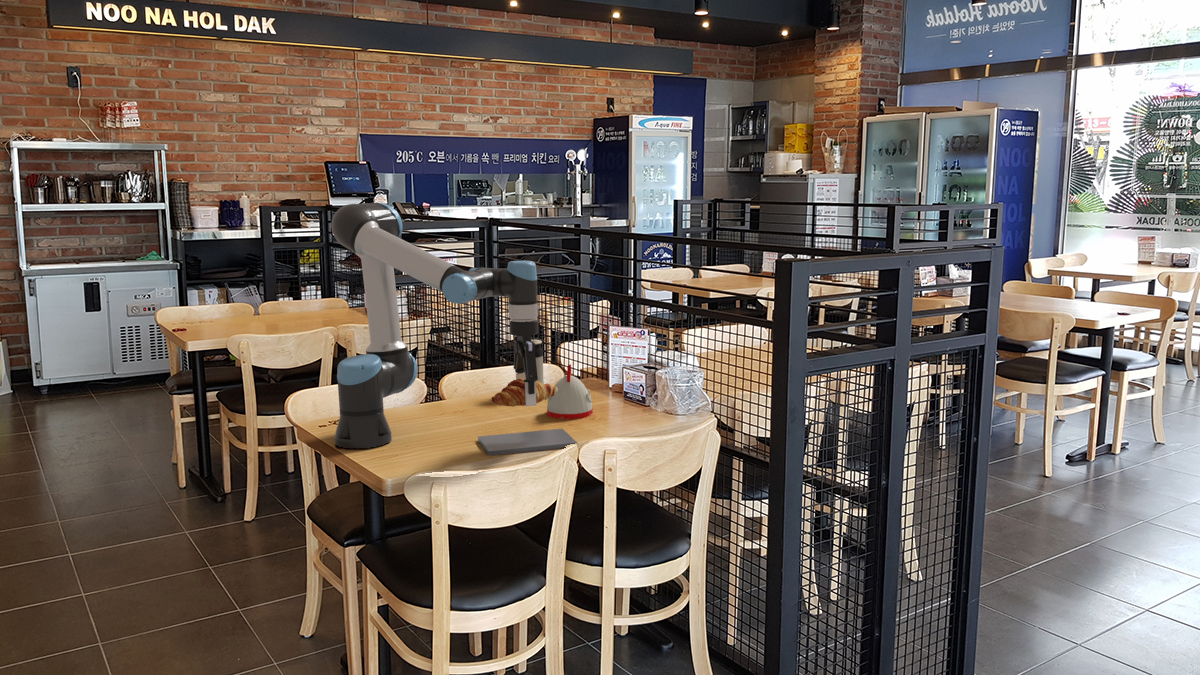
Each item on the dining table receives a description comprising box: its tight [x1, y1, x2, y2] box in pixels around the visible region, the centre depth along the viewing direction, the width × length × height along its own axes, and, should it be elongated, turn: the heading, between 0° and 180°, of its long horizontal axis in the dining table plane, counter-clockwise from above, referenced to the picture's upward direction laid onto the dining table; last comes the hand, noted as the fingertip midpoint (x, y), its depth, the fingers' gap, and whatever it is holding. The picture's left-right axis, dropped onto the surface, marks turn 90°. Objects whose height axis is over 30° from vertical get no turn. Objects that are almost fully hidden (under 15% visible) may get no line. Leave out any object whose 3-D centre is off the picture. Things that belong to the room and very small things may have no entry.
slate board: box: [477, 428, 578, 457], centre depth 247 cm, size 24×15×2 cm, turn 108°
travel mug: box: [523, 339, 545, 384], centre depth 304 cm, size 8×8×18 cm
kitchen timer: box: [546, 364, 594, 420], centre depth 278 cm, size 14×14×15 cm
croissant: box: [490, 378, 558, 408], centre depth 245 cm, size 21×10×8 cm, turn 131°
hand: (526, 401), depth 245 cm, fingers closed on croissant, 10 cm apart
